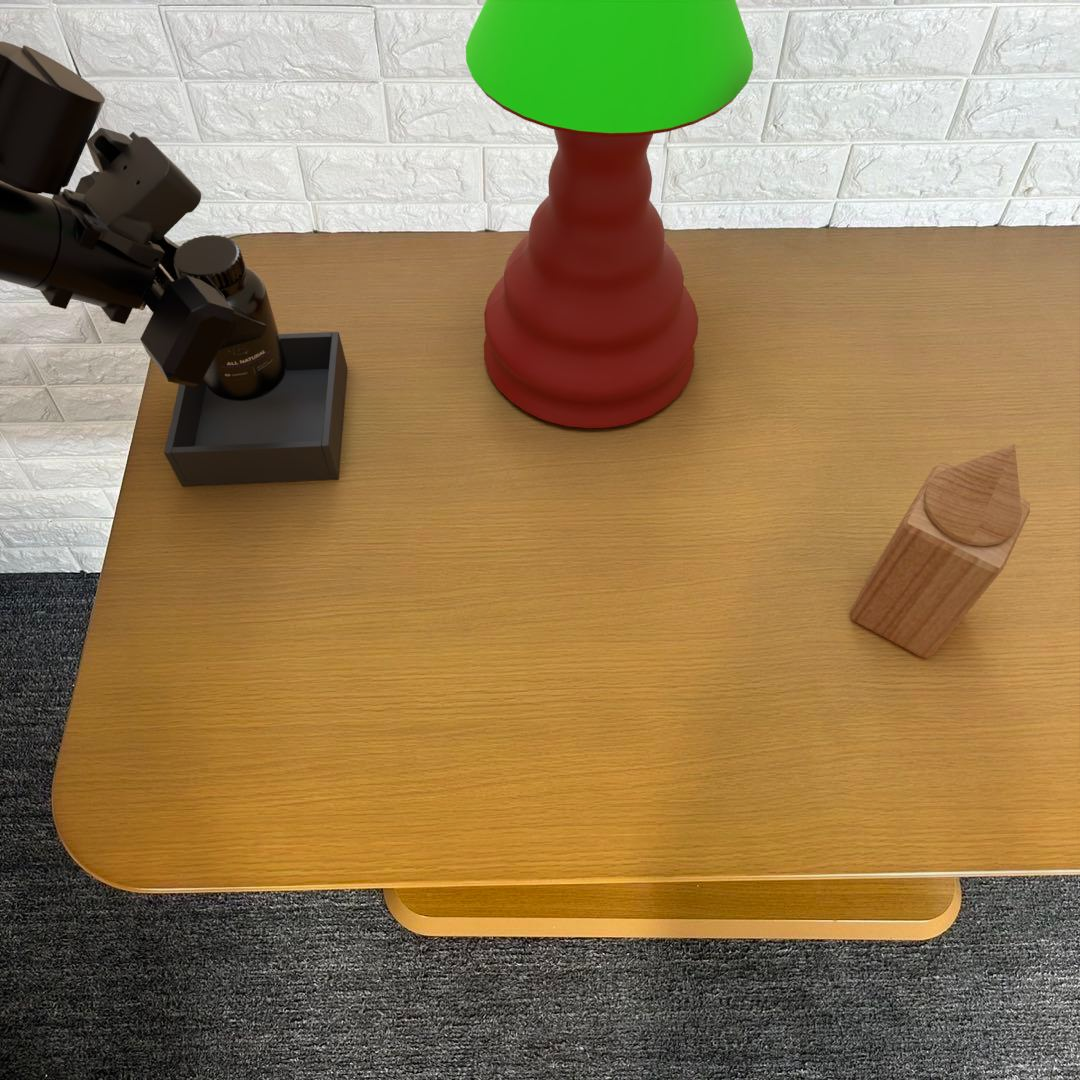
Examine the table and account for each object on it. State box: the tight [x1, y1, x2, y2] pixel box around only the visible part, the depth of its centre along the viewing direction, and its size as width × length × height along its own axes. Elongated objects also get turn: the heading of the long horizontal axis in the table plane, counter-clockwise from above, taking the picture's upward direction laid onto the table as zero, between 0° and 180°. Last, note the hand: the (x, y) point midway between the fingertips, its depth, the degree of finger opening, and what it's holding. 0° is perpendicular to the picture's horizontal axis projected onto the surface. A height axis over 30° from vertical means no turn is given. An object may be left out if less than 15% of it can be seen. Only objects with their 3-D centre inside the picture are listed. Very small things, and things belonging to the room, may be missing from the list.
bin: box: [163, 331, 348, 487], centre depth 78 cm, size 13×13×4 cm
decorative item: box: [849, 443, 1031, 659], centre depth 61 cm, size 7×7×20 cm
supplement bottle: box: [173, 234, 286, 401], centre depth 70 cm, size 7×7×12 cm
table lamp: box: [465, 0, 754, 429], centre depth 66 cm, size 20×20×45 cm
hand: (241, 305), depth 70 cm, fingers closed on supplement bottle, 7 cm apart
